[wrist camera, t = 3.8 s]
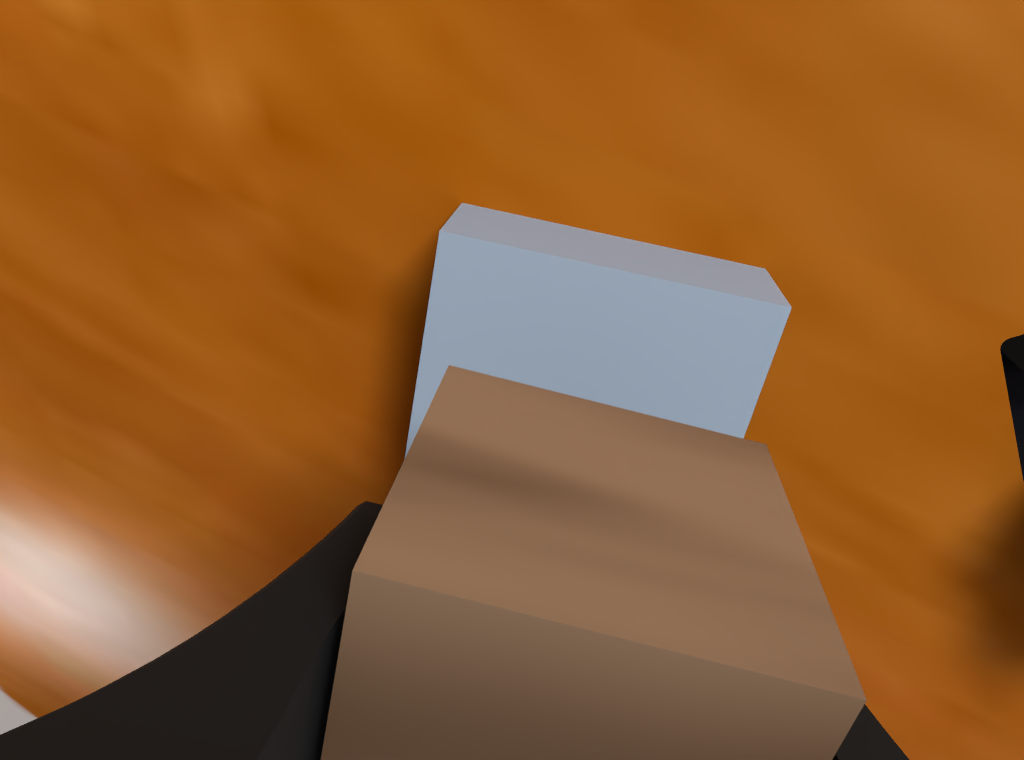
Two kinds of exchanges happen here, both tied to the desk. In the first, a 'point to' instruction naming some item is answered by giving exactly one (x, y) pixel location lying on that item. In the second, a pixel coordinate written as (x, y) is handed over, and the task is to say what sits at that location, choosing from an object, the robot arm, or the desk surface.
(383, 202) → the desk surface
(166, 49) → the desk surface
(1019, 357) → the black rectangular box
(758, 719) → the walnut cube
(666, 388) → the blue slab
